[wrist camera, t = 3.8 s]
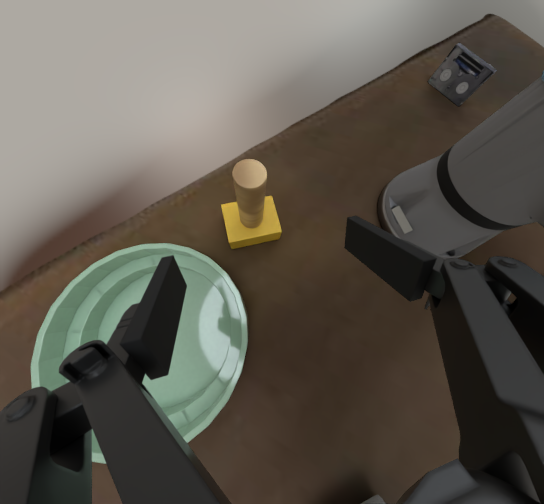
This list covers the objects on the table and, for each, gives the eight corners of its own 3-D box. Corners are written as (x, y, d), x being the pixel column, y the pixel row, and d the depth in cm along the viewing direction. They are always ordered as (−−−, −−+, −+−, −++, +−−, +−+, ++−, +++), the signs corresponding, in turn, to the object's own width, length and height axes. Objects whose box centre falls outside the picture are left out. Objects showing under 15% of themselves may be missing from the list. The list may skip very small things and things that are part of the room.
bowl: (176, 228, 27) (157, 210, 22) (279, 321, 25) (285, 326, 20) (47, 341, 22) (-17, 353, 17) (162, 469, 20) (129, 527, 15)
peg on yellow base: (270, 205, 29) (280, 142, 18) (279, 239, 28) (296, 193, 17) (224, 214, 28) (203, 152, 17) (231, 249, 27) (214, 208, 16)
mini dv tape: (462, 103, 39) (498, 69, 34) (458, 106, 39) (494, 72, 33) (431, 78, 40) (460, 41, 35) (427, 81, 40) (456, 44, 34)
